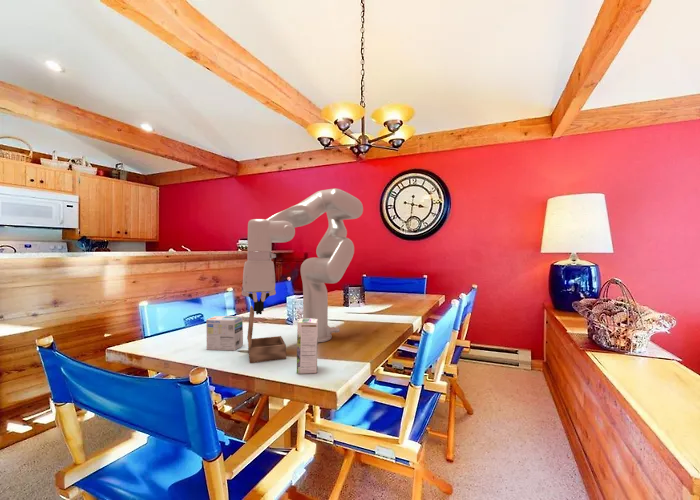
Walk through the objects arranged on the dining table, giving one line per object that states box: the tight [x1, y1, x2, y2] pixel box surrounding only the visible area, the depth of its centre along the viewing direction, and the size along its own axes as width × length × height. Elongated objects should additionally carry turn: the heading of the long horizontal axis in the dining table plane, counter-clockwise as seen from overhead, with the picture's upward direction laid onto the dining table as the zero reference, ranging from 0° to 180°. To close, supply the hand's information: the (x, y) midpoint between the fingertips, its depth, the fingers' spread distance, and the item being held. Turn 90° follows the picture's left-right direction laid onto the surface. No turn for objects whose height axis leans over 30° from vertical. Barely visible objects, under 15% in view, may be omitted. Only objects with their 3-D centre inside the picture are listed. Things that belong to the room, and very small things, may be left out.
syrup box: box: [296, 317, 319, 375], centre depth 94 cm, size 6×6×14 cm
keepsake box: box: [247, 335, 287, 364], centre depth 106 cm, size 11×11×4 cm
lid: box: [246, 305, 255, 348], centre depth 104 cm, size 11×11×1 cm
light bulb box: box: [206, 315, 244, 351], centre depth 115 cm, size 11×7×11 cm, turn 84°
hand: (258, 313), depth 105 cm, fingers closed
